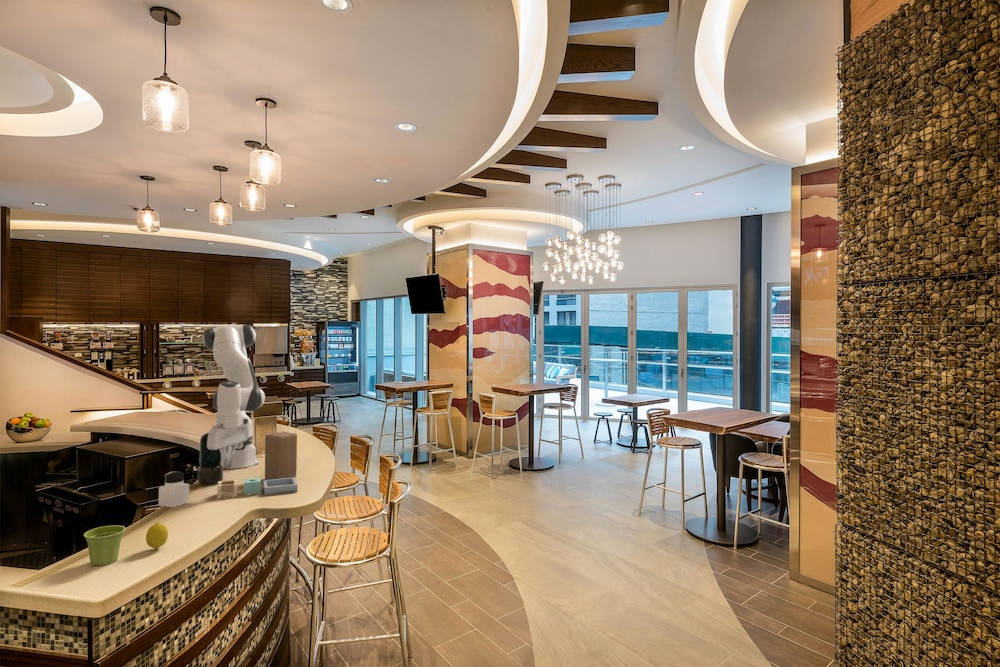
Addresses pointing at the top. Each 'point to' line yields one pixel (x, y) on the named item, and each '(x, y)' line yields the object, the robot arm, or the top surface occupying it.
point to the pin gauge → (228, 459)
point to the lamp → (209, 464)
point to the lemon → (157, 535)
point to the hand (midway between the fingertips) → (227, 456)
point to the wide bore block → (227, 488)
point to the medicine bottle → (174, 490)
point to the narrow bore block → (252, 486)
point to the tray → (279, 486)
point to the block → (280, 455)
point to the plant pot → (104, 544)
